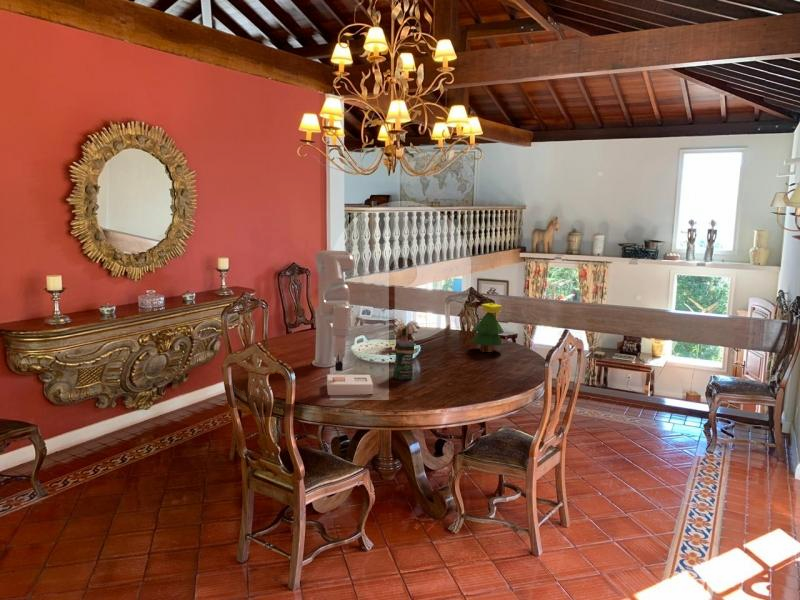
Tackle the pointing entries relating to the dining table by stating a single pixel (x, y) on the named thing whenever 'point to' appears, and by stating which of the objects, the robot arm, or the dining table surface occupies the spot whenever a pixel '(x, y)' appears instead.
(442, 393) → the dining table surface
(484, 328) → the decorative tree
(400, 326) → the cherub figurine
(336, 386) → the button panel
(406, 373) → the coffee jar
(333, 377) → the terracotta button
